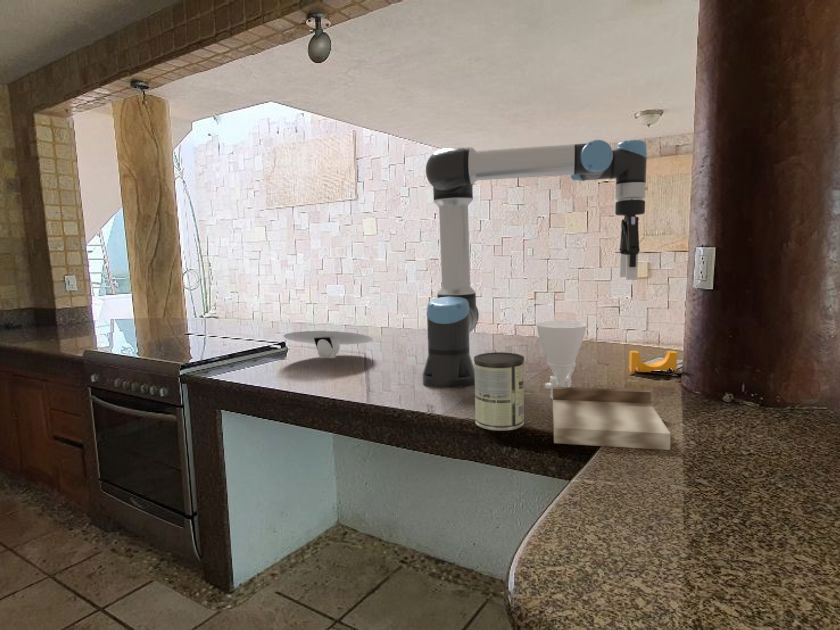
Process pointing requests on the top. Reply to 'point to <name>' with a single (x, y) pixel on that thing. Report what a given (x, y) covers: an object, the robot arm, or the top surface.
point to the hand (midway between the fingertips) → (628, 278)
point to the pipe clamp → (667, 363)
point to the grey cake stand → (328, 340)
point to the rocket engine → (561, 349)
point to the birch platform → (607, 418)
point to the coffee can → (499, 391)
